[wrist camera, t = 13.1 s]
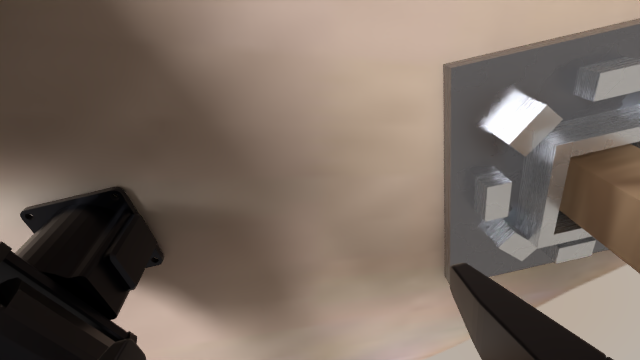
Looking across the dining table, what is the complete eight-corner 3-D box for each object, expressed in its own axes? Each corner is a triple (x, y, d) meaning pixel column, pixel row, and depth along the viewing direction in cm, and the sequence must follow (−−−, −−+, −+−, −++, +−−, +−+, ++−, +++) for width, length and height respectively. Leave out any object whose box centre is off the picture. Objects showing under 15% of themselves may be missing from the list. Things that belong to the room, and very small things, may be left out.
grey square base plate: (445, 276, 28) (464, 310, 25) (443, 64, 19) (474, 78, 16) (650, 229, 28) (694, 258, 25) (747, -7, 19) (834, -6, 16)
